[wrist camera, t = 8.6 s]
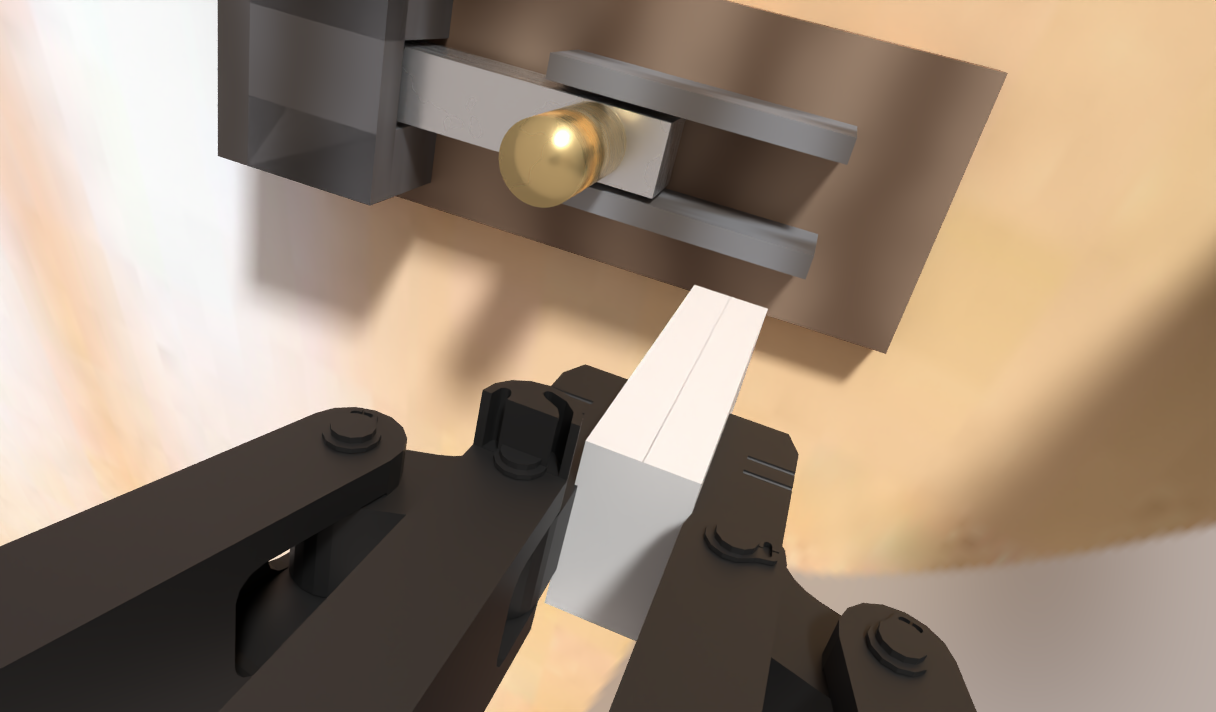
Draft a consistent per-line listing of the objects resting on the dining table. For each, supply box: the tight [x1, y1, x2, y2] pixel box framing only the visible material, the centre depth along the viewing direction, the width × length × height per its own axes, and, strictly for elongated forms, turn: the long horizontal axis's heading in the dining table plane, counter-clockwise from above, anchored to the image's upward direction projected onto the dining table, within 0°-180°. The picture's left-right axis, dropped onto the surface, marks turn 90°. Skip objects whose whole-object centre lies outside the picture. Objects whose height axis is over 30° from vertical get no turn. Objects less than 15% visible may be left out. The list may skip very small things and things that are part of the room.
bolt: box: [397, 40, 686, 208], centre depth 31 cm, size 16×3×8 cm, turn 74°
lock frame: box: [218, 0, 1008, 354], centre depth 33 cm, size 30×12×7 cm, turn 74°
